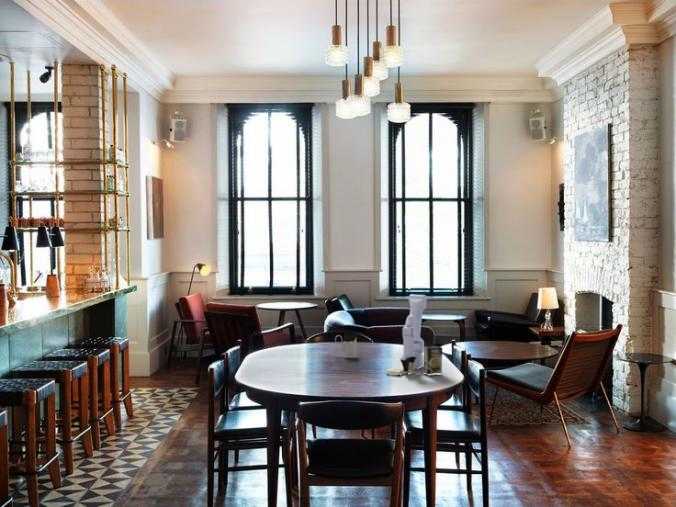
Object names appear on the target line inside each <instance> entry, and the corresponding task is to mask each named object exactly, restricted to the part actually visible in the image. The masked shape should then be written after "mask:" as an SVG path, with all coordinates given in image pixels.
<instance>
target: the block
mask: <svg viewBox="0 0 676 507" xmlns="http://www.w3.org/2000/svg"><path fill="white" fill-rule="evenodd" d="M404 372H405V371H404ZM412 372H414V373H415V369H414V363H411V362H410V363H409V367H408V372H405V373H412Z"/></svg>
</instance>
